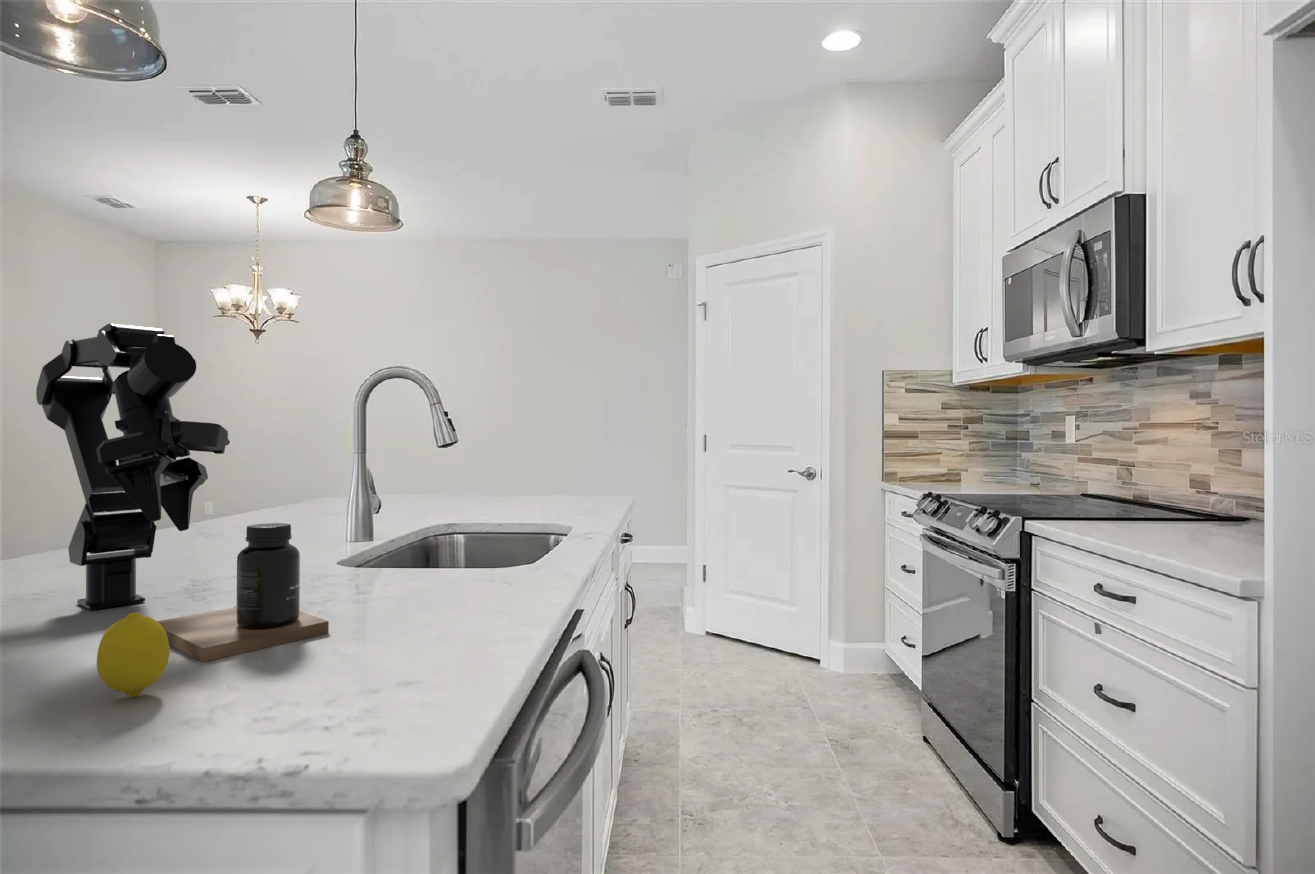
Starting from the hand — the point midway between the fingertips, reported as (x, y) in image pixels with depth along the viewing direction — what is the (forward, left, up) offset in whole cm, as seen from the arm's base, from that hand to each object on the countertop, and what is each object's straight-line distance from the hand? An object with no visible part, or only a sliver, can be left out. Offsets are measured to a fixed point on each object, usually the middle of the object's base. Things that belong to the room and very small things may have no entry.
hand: (170, 525), depth 93 cm
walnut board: (+12, +3, -13) cm, 18 cm away
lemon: (+26, -12, -13) cm, 31 cm away
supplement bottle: (+15, +6, -11) cm, 20 cm away
